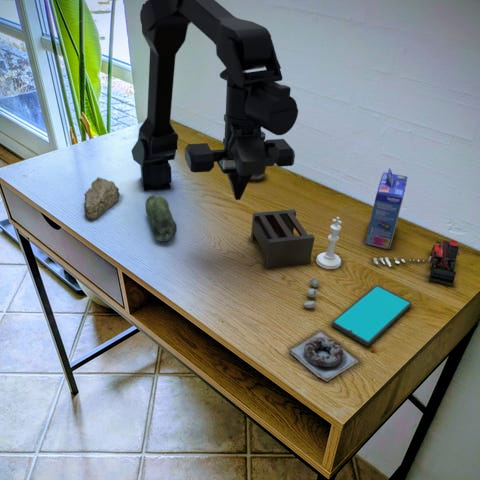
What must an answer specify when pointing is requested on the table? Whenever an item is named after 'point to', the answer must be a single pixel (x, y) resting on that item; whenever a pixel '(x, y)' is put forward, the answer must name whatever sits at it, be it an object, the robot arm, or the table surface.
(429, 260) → the miniature set
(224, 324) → the table surface
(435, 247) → the loader
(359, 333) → the smartphone
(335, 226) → the chess piece
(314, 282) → the game pieces
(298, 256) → the rack
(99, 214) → the stone
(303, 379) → the table surface
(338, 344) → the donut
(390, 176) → the ink cartridge box
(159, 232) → the vegetable
